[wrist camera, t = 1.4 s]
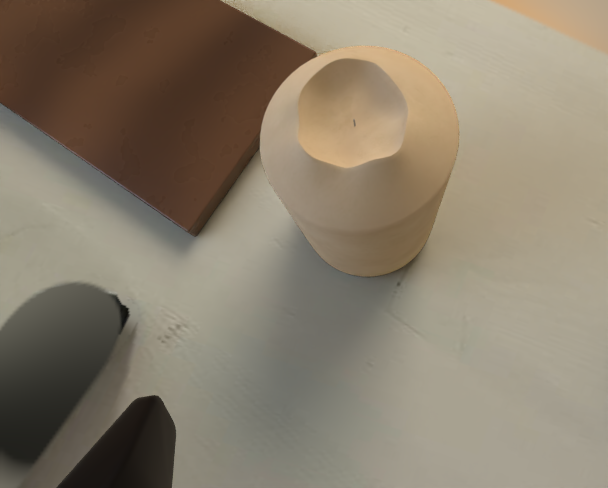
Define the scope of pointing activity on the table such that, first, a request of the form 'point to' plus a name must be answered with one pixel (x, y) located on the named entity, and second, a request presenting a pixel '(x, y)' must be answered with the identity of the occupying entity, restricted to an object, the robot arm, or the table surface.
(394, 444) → the table surface
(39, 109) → the walnut board
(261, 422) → the table surface
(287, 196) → the candle
